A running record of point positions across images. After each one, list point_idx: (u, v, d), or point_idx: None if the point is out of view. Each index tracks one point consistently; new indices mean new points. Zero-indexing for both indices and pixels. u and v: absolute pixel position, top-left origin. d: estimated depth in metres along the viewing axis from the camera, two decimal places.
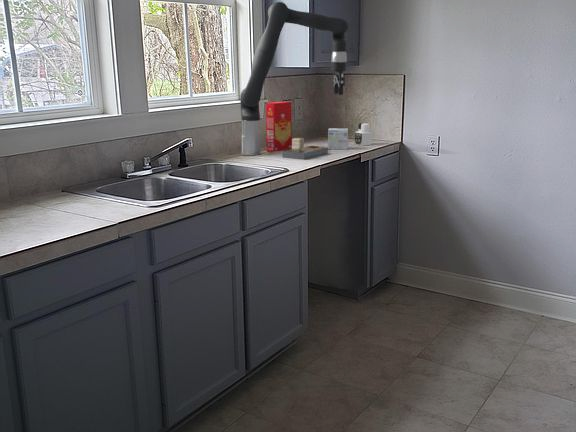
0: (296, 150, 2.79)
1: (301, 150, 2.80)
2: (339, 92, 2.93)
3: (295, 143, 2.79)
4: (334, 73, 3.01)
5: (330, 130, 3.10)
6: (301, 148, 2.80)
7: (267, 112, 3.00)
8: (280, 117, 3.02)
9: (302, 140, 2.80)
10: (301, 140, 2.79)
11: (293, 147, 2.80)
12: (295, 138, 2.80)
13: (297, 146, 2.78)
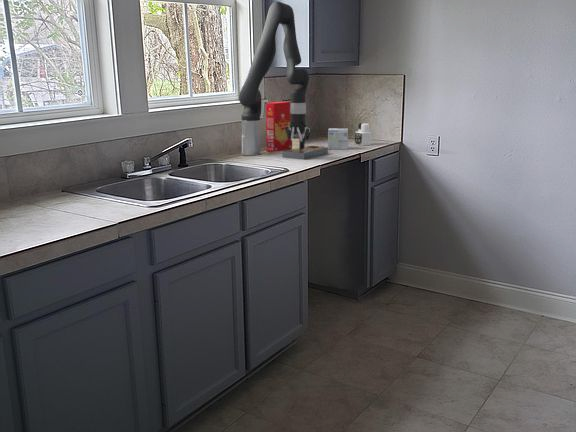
0: (296, 150, 2.79)
1: (301, 150, 2.80)
2: None
3: (295, 143, 2.79)
4: (308, 128, 2.76)
5: (330, 130, 3.10)
6: None
7: (267, 112, 3.00)
8: (280, 117, 3.02)
9: None
10: None
11: (293, 147, 2.80)
12: (295, 138, 2.80)
13: (297, 146, 2.78)
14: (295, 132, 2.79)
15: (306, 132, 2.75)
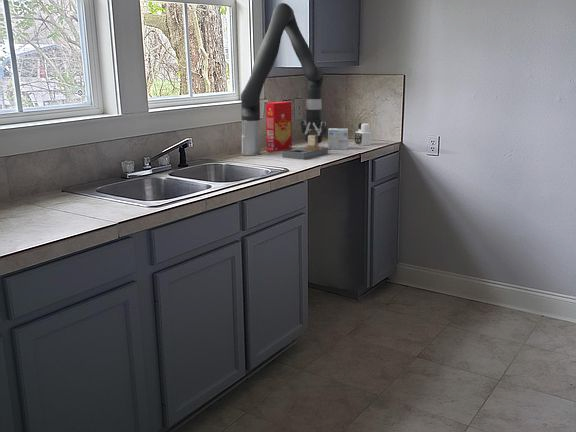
0: (312, 146, 2.91)
1: (316, 146, 2.91)
2: None
3: (311, 140, 2.90)
4: (324, 122, 2.87)
5: (330, 130, 3.10)
6: (317, 145, 2.92)
7: (267, 112, 3.00)
8: (280, 117, 3.02)
9: (317, 137, 2.91)
10: (316, 137, 2.90)
11: (309, 144, 2.91)
12: (311, 135, 2.92)
13: (313, 142, 2.90)
14: (310, 127, 2.90)
15: (322, 126, 2.85)
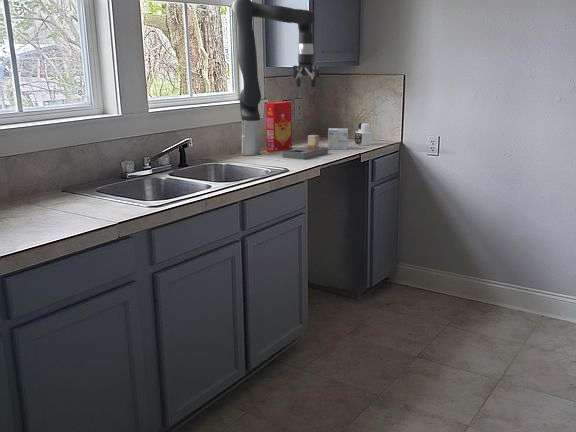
0: (312, 146, 2.91)
1: (316, 146, 2.91)
2: None
3: (311, 140, 2.90)
4: (316, 66, 2.89)
5: (330, 130, 3.10)
6: (317, 145, 2.92)
7: (267, 112, 3.00)
8: (280, 117, 3.02)
9: (317, 137, 2.91)
10: (316, 137, 2.90)
11: (309, 144, 2.91)
12: (311, 135, 2.92)
13: (313, 142, 2.90)
14: (302, 73, 2.92)
15: (315, 69, 2.88)
